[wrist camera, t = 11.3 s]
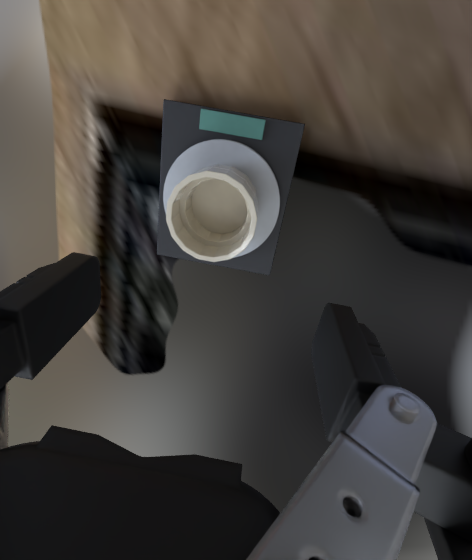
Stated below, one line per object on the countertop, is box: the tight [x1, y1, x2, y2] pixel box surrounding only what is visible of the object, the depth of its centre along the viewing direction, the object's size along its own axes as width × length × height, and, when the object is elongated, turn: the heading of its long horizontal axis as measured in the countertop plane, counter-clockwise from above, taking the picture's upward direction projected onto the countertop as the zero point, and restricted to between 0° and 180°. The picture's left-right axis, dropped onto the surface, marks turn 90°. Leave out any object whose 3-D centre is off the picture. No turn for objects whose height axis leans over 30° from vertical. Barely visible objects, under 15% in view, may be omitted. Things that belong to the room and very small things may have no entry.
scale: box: [157, 99, 305, 275], centre depth 27 cm, size 13×11×3 cm
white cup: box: [166, 164, 259, 262], centre depth 24 cm, size 6×6×5 cm
